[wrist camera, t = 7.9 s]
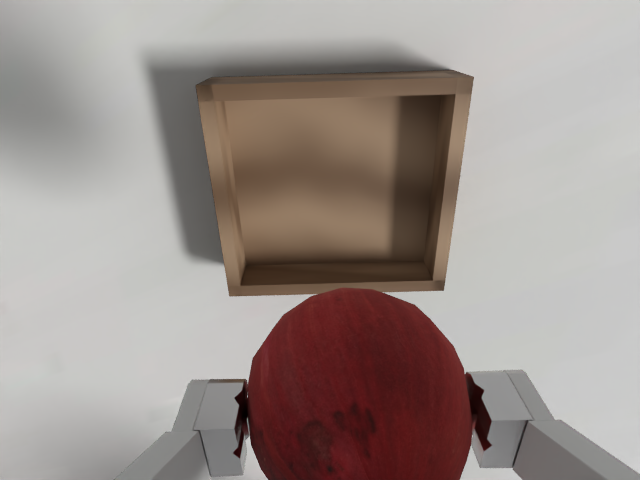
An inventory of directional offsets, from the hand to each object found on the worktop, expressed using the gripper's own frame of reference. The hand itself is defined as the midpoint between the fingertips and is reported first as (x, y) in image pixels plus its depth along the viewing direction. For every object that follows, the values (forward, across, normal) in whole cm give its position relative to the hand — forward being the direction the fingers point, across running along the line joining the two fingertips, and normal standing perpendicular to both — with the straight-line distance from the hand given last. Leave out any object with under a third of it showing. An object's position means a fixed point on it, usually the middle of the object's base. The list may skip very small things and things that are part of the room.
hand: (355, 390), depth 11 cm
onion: (+4, 0, 0) cm, 4 cm away
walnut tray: (+17, 0, 0) cm, 17 cm away
